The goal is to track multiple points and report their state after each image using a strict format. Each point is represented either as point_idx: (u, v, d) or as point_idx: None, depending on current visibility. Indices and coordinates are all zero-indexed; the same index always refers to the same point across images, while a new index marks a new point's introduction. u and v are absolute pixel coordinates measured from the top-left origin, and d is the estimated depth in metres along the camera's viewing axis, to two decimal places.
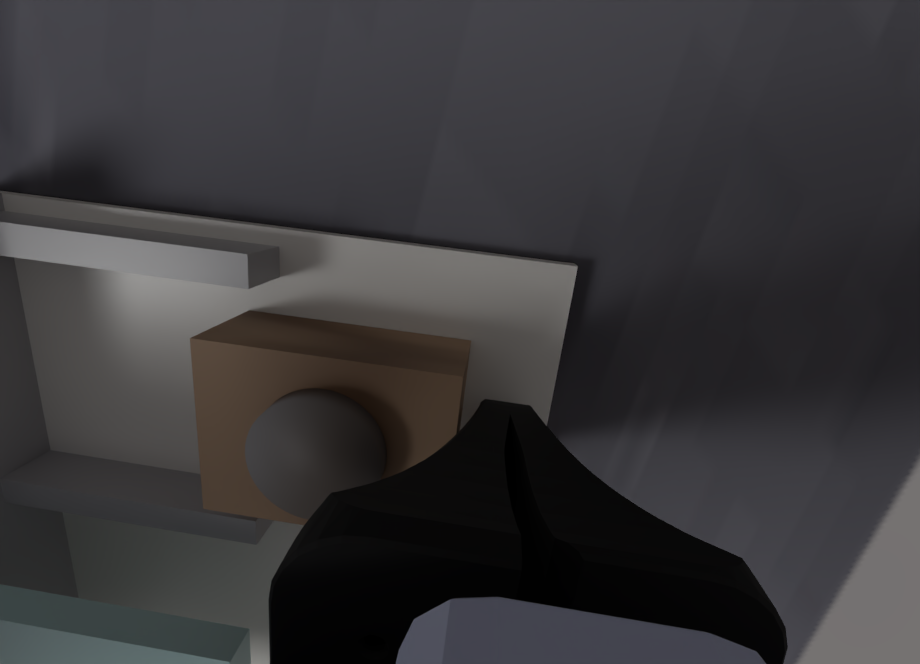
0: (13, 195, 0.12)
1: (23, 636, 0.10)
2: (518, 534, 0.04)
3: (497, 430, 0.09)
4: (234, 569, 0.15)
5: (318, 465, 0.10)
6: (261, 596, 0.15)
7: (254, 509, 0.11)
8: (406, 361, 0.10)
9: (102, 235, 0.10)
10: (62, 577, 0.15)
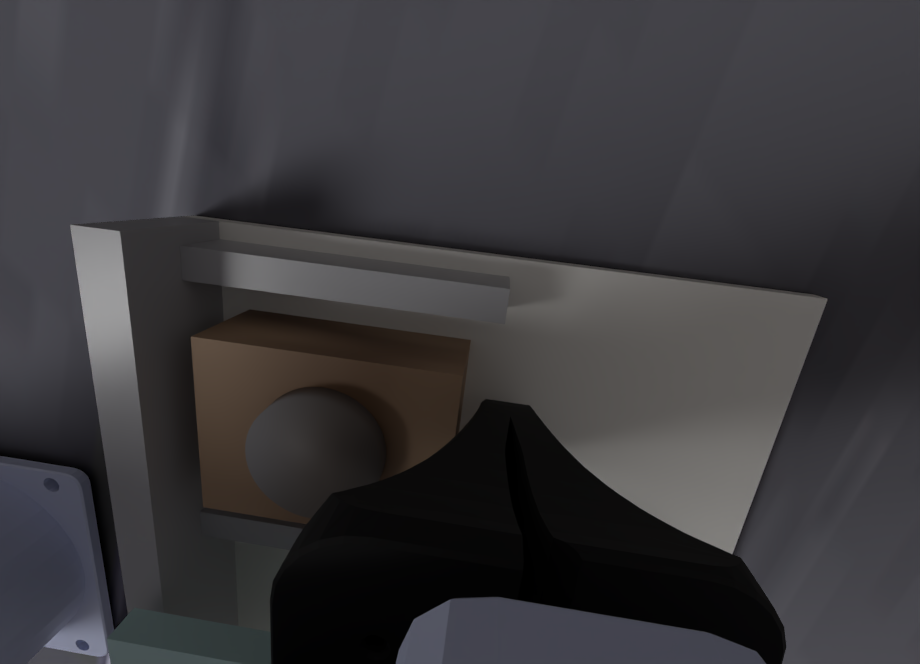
0: (230, 223, 0.11)
1: None
2: (520, 534, 0.04)
3: (498, 430, 0.09)
4: None
5: (318, 463, 0.10)
6: None
7: (253, 508, 0.11)
8: (406, 360, 0.10)
9: (354, 268, 0.10)
10: (230, 606, 0.15)
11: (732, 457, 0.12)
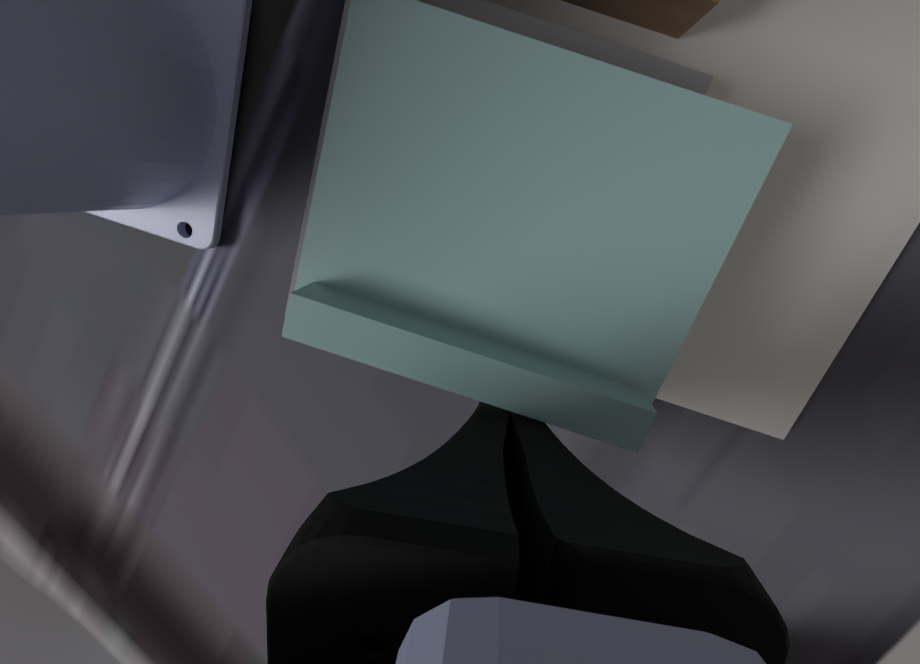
0: None
1: (538, 66, 0.09)
2: (516, 534, 0.05)
3: (496, 430, 0.09)
4: None
5: None
6: None
7: None
8: None
9: None
10: None
11: None
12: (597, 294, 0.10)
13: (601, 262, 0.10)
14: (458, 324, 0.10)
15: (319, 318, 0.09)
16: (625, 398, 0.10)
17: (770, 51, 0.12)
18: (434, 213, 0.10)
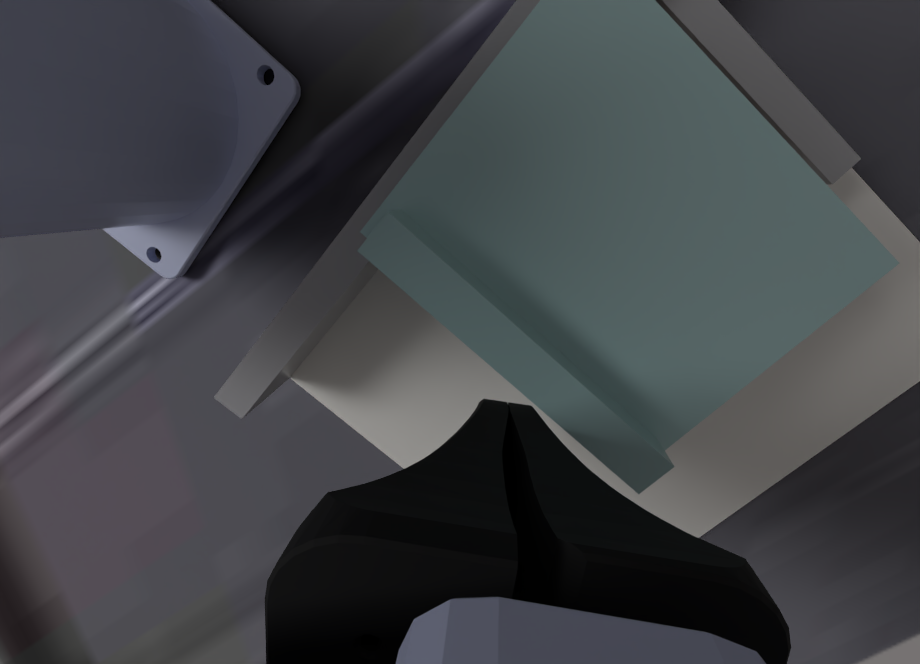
0: None
1: (718, 105, 0.09)
2: (514, 534, 0.05)
3: (495, 430, 0.09)
4: (510, 384, 0.15)
5: None
6: None
7: None
8: None
9: (767, 57, 0.11)
10: (353, 298, 0.15)
11: (842, 406, 0.15)
12: (662, 338, 0.10)
13: (681, 311, 0.10)
14: (523, 311, 0.10)
15: (405, 249, 0.09)
16: (650, 442, 0.10)
17: None
18: (553, 197, 0.09)
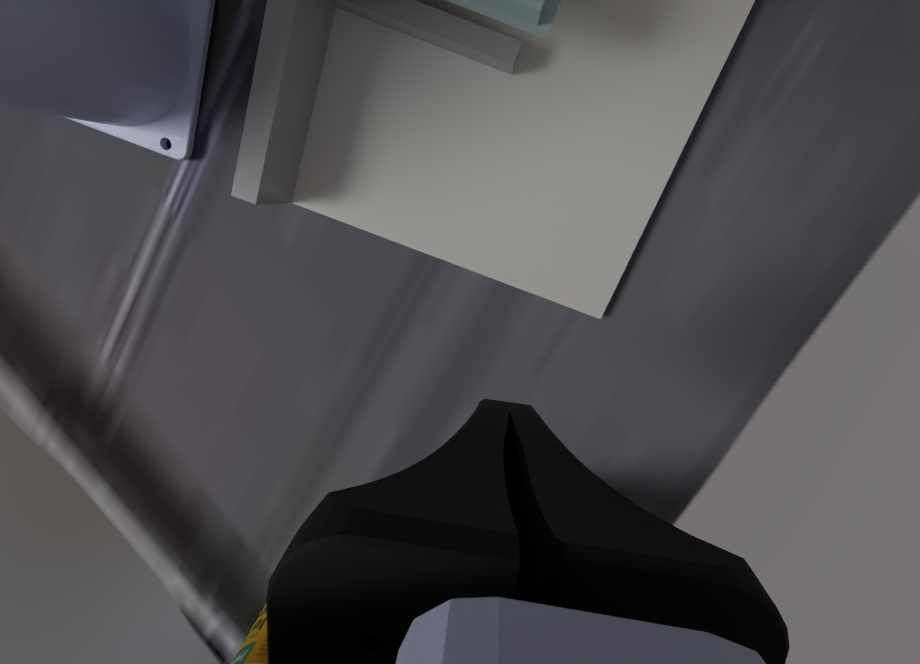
0: None
1: None
2: (516, 534, 0.04)
3: (496, 430, 0.09)
4: (451, 130, 0.19)
5: None
6: (463, 162, 0.19)
7: None
8: None
9: None
10: (309, 107, 0.19)
11: (717, 23, 0.17)
12: None
13: None
14: None
15: None
16: None
17: (572, 29, 0.17)
18: None
